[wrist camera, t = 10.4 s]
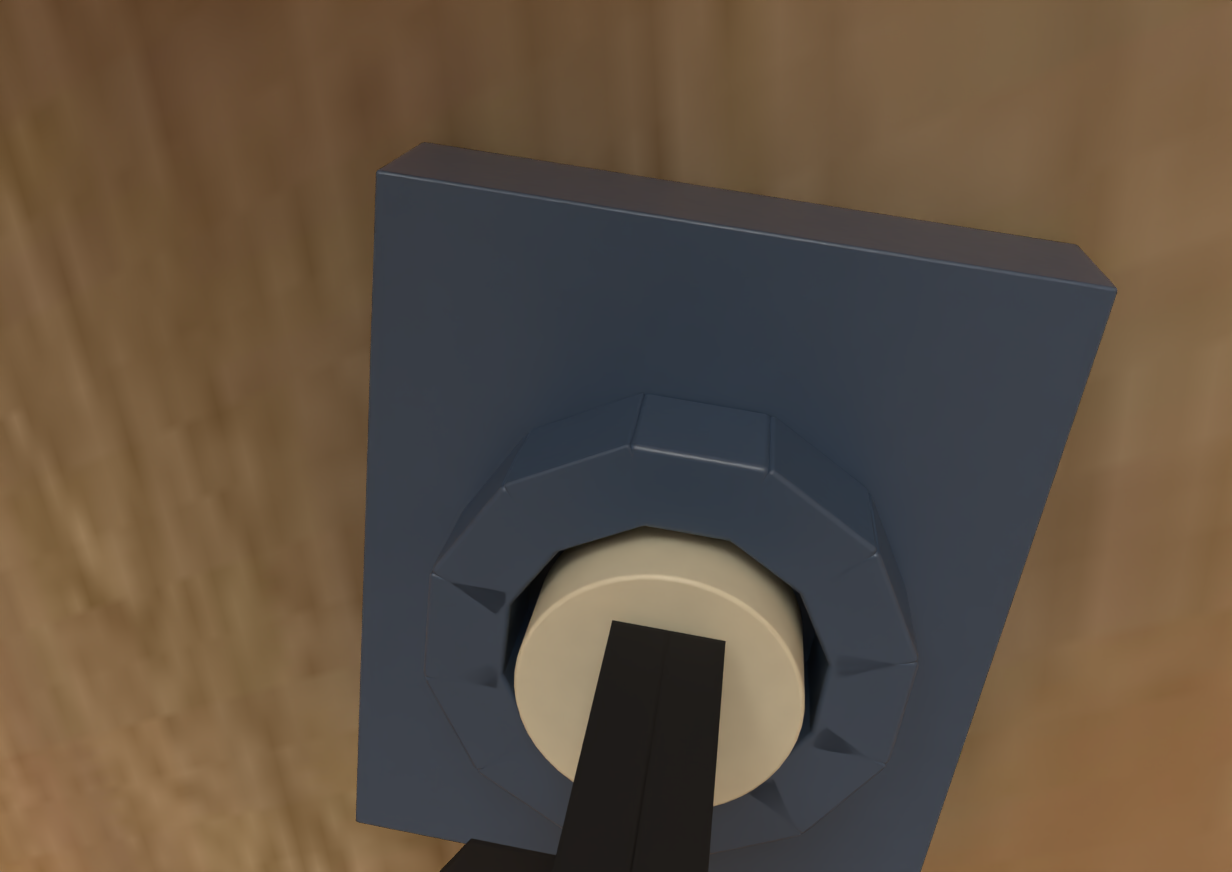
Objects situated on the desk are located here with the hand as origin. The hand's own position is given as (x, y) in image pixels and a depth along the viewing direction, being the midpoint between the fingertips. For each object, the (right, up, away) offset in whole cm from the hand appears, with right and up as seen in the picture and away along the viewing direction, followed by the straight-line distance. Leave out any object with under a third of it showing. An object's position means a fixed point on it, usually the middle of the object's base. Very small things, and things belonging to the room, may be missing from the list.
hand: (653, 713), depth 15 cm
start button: (0, +1, +2) cm, 2 cm away
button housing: (+1, +2, +4) cm, 5 cm away
